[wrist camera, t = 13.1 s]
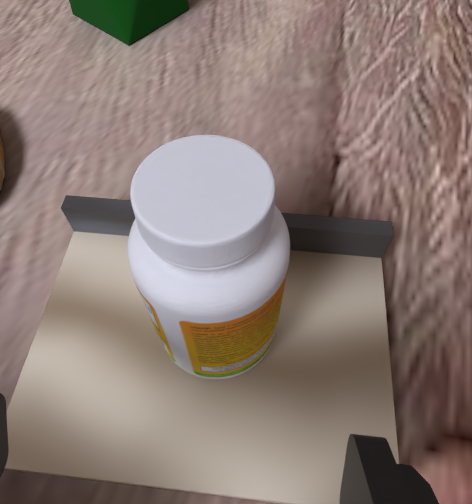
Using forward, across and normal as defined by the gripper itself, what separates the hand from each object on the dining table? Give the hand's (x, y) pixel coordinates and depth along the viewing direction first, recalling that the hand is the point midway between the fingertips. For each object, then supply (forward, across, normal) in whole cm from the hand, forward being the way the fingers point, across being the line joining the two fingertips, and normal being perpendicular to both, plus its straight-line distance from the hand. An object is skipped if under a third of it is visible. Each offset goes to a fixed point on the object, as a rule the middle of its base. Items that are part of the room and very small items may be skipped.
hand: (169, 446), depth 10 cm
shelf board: (+10, 0, +3) cm, 11 cm away
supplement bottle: (+10, 0, +1) cm, 10 cm away
